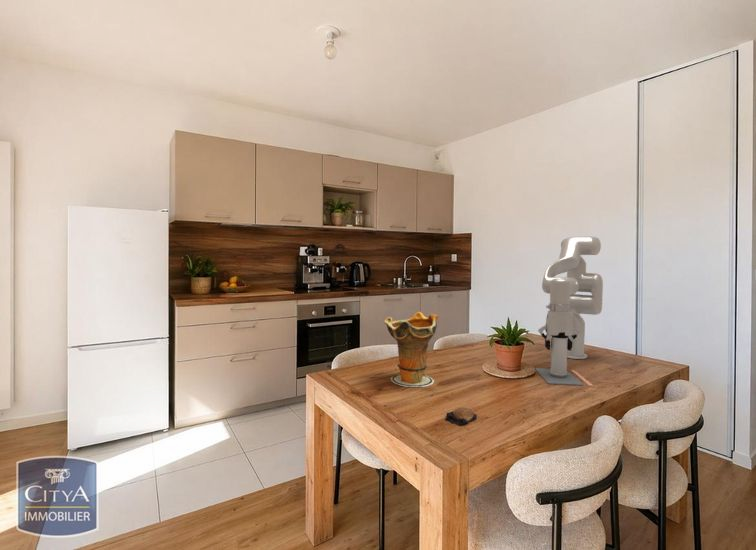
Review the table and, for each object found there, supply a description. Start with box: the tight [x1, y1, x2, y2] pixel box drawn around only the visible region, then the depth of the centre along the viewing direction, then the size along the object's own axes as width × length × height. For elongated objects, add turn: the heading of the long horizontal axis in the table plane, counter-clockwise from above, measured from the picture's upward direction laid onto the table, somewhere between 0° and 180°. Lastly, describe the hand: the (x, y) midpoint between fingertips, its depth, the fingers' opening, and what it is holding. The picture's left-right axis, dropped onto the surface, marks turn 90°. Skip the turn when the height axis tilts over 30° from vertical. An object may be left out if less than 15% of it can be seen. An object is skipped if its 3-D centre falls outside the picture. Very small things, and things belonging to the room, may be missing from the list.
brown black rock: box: [444, 406, 479, 427], centre depth 122 cm, size 11×8×4 cm
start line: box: [570, 369, 594, 387], centre depth 161 cm, size 20×2×1 cm, turn 172°
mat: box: [534, 367, 584, 387], centre depth 162 cm, size 20×13×1 cm, turn 172°
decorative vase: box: [383, 311, 439, 388], centre depth 157 cm, size 21×23×28 cm
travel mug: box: [549, 332, 568, 378], centre depth 162 cm, size 6×7×20 cm
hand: (558, 349), depth 162 cm, fingers open, 7 cm apart
